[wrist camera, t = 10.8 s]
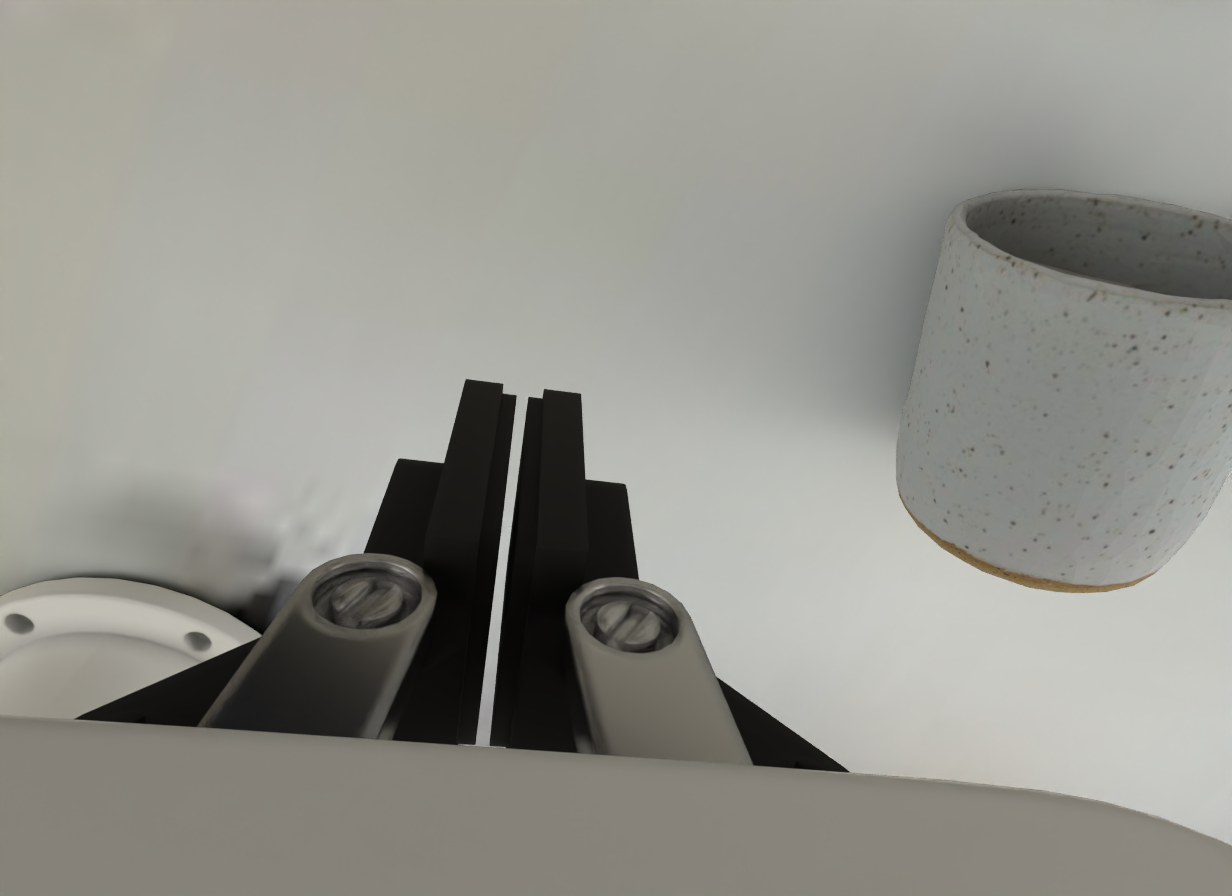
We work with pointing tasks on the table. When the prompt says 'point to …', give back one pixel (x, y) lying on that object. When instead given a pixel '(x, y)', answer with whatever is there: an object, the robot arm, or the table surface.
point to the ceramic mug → (1071, 387)
